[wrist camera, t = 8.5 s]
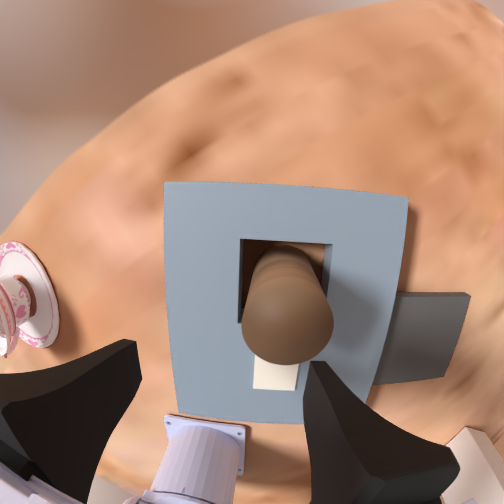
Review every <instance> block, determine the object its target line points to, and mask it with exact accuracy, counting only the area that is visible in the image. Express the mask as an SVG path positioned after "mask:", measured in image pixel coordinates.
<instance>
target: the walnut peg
mask: <svg viewBox="0 0 504 504" xmlns="http://www.w3.org/2000/svg"><path fill="white" fill-rule="evenodd" d="M241 328H242V335H243V338H244V341H245V343H246V344H247V346H248V347H249V349H250V350H251V351H252V352H253V353H254V354H255V355H256V356H258V357H259V358H261V359H263V360H265V361H267V362H269V363H273V364H277V365H295V364H299V363H303V362H305V361H308V360H310V359H312V358H313V357H315V356H316V355H318V354H319V353H320V352H321V351H322V350H323V349H324V348H325V347H326V345H327V344H328V342H329V340H330V338H331V336H332V333H333V328H334V318H333V313H332V310H331V308H330V305H329V303H328V301H327V299H326V297H325V294H324V292H323V290H322V288H321V286H320V284H319V281H318V279H317V277H316V275H315V273H314V271H313V269H312V266H311V264H310V262H309V260H308V258H307V257H306V256H305V254H303V253H302V252H301V251H300V250H298V249H297V248H294V247H292V246H287V245H280V246H275V247H272V248H270V249H268V250H266V251H265V252H264V253H263V254H262V255H261V256H260V257H259V258H258V260H257V262H256V264H255V268H254V272H253V276H252V280H251V284H250V289H249V293H248V297H247V301H246V305H245V309H244V313H243V317H242V324H241Z"/></svg>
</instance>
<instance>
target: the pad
mask: <svg viewBox="0 0 504 504" xmlns="http://www.w3.org/2000/svg"><path fill="white" fill-rule="evenodd" d="M470 297H471V296H469V295H468V294H466V293H465V292H396V296H395V300H394V305H393V310H392V314H391V319H390V323H389V327H388V331H387V335H386V339H385V343H384V346H383V350H382V354H381V357H380V360H379V364H378V367H377V370H376V374H375V377H374V380H373V383H372V385H380V384H391V383H401V382H410V381H418V380H425V379H432V378H439V377H444V375H445V372H446V370H447V368H448V365H449V363H450V360H451V357H452V355H453V352H454V349H455V346H456V344H457V341H458V338H459V335H460V332H461V328H462V325H463V322H464V319H465V315H466V312H467V308H468V304H469V301H470Z"/></svg>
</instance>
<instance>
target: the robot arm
mask: <svg viewBox="0 0 504 504" xmlns="http://www.w3.org/2000/svg"><path fill="white" fill-rule="evenodd" d="M141 381H142V375H141V369H140V363H139V357H138V350H137V344H136V341H132V340H127V339H122V340H119V341H117V342H114V343H112V344H110V345H108V346H105V347H103V348H101V349H99V350H97V351H94V352H92V353H90V354H88V355H85V356H83V357H80V358H78V359H75V360H73V361H70V362H68V363H65V364H62V365H59V366H55V367H51V368H47V369H43V370H37V371H32V372H25V373H12V374H0V504H87V500H88V496H89V492H90V488H91V484H92V481H93V478H94V475H95V472H96V469H97V466H98V463H99V461H100V458H101V456H102V453H103V451H104V448H105V446H106V444H107V442H108V439H109V437H110V436H111V434H112V432H113V430H114V429H115V427H116V425H117V424H118V422H119V421H120V419H121V418H122V416H123V414H124V413H125V411H126V410H127V408H128V406H129V405H130V403H131V402H132V400H133V398H134V397H135V395H136V392H137V390H138V388H139V385H140V383H141ZM303 420H304V426H305V432H306V438H307V444H308V450H309V456H310V463H311V483H312V504H442V502H441V499H440V496H441V494H442V493H443V492H444V491H445V490H446V489H447V488H448V487H449V486H450V485H451V484H452V483H453V482H454V480H455V479H456V478H457V476H458V474H459V472H460V465H459V463H458V461H457V459H456V457H455V456H454V454H453V452H452V450H451V449H450V447H447V446H443V445H440V444H437V443H433V442H430V441H427V440H425V439H422V438H420V437H417V436H415V435H413V434H411V433H409V432H407V431H405V430H403V429H401V428H399V427H397V426H396V425H394V424H392V423H390V422H389V421H387V420H386V419H384V418H383V417H381V416H380V415H379V414H377V413H376V412H375V411H373V410H372V409H371V408H369V407H368V406H367V405H366V404H365V403H364V402H363V401H361V400H360V399H359V398H358V397H357V396H356V395H355V394H354V393H353V392H352V391H351V390H350V389H349V388H348V387H347V386H346V385H345V384H344V382H343V381H342V380H341V379H340V378H339V377H338V375H337V374H336V373H335V372H334V371H333V370H332V368H331V367H330V366H329V365H328V364H327V362H326V361H310V364H309V370H308V375H307V380H306V385H305V390H304V395H303ZM164 423H165V427H166V432H167V436H168V440H169V444H168V446H167V449H166V451H165V454H164V456H163V459H162V461H161V464H160V466H159V469H158V471H157V474H156V476H155V479H154V481H153V484H152V486H151V489H150V491H149V490H145V491H144V494H143V496H142V498H141V497H139V496H133V497H131V498H128V499H126V500H125V501H124V502H123V503H122V504H233V499H234V492H235V485H236V479H237V476H242V475H243V474H244V457H245V437H246V428H245V427H244V426H242V425H234V424H225V423H217V422H209V421H202V420H196V419H190V418H184V417H179V416H174V415H168V414H167V415H165V416H164ZM239 432H241V433H239ZM461 504H477V503H476V501H475V499H474V498H472V499H470V500H468V501H465V502H463V503H461Z"/></svg>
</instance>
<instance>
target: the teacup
mask: <svg viewBox="0 0 504 504" xmlns="http://www.w3.org/2000/svg"><path fill="white" fill-rule="evenodd" d="M15 275H21V276H23V277H24V278H25V279H26V280H27V281H28V282H29V284H30V285H31V287H32V289H33V291H34V294H35V297H36V303H37V310H36V313H35V315H34V316H32V317H29V316H30V306H31V298H30V294H29V291H28V289H27V287H26V286H25V285H24V284H23V283H22V282H21V281H18V280H17V279H16V278H15V277H14V276H15ZM59 322H60V318H59V311H58V303H57V299H56V296H55V293H54V290H53V287H52V283H51V281H50V279H49V277H48V275H47V273H46V271H45V269H44V267H43V265H42V264H41V263H40V261H39V260H38V259H37V257H36V256H35V254H34V253H33V252H32V251H31V250H30V249H28V248H27V247H26V246H25V245H24V244H22V243H19V242H15V241H10V242H8V243H5V244H2V246H1V247H0V356H4V357H5V358H7V354H10V353H11V352H12V351H13V350H14V348H15V346H16V344H17V341H18V338H19V337H20V338H21V339H22V340H24V341H25V342H26V343H28V344H30V345H32V346H34V347H38V348H45V347H47V346H49V345H51V344H53V343H54V341H55V339H56V337H57V335H58V331H59ZM14 333H15V334H14ZM13 335H14V337H13V340H12V343H11V345H10V342H11V337H12V336H13ZM8 347H9V348H8Z"/></svg>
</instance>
